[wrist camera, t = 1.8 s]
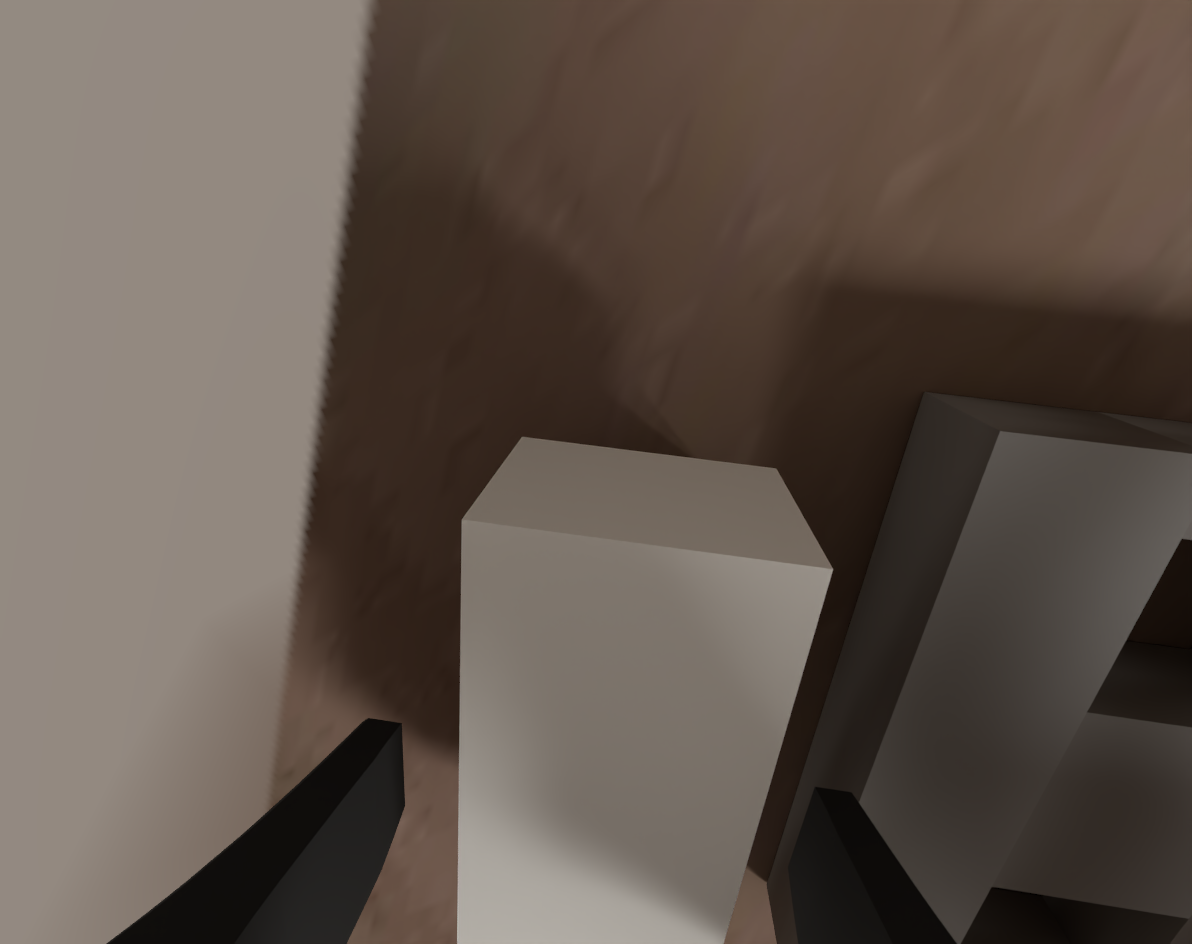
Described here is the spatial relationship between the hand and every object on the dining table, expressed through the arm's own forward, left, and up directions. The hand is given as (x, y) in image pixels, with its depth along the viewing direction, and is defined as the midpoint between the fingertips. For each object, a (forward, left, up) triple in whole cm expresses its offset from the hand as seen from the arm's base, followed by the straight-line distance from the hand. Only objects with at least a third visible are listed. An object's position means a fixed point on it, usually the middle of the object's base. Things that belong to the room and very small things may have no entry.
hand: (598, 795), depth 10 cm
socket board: (-10, 0, -4) cm, 11 cm away
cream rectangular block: (0, 0, -4) cm, 4 cm away
